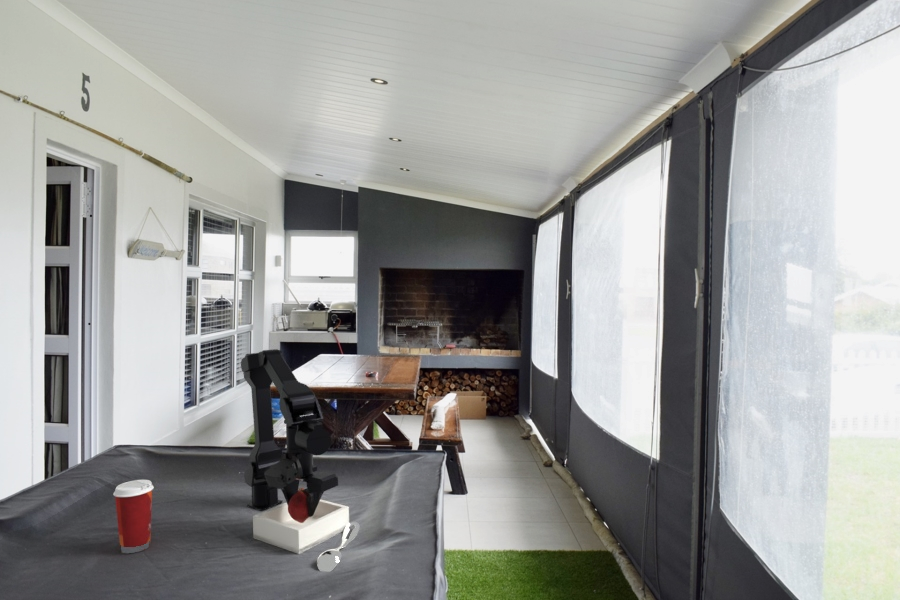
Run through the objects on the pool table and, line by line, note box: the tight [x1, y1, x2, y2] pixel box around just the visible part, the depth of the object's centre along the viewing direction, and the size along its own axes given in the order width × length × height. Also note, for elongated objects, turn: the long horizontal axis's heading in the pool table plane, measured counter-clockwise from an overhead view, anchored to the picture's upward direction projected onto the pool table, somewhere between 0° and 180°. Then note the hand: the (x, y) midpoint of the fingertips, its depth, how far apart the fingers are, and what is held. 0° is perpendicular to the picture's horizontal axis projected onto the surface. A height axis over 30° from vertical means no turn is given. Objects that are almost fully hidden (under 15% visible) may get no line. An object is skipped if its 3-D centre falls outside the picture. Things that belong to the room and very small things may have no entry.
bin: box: [252, 499, 350, 555], centre depth 128 cm, size 15×15×5 cm
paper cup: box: [112, 479, 155, 547], centre depth 122 cm, size 8×8×14 cm
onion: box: [288, 486, 309, 523], centre depth 128 cm, size 6×6×8 cm
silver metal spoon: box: [316, 521, 361, 572], centre depth 120 cm, size 20×4×5 cm
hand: (301, 513), depth 128 cm, fingers closed on onion, 6 cm apart
